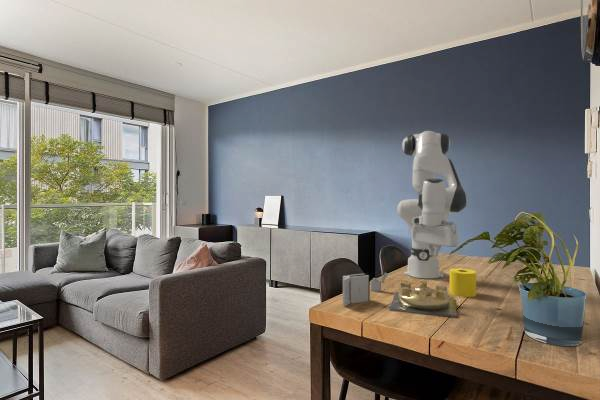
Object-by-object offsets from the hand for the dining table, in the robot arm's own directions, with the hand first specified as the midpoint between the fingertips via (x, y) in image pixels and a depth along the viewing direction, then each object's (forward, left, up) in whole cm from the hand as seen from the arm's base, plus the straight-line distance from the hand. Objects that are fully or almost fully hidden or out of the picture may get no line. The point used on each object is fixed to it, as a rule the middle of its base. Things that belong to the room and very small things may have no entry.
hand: (433, 255), depth 134 cm
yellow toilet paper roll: (-15, +11, -18) cm, 26 cm away
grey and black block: (+13, -28, -18) cm, 36 cm away
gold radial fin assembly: (+6, -4, -16) cm, 18 cm away
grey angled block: (-7, -22, -18) cm, 29 cm away
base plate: (+6, -4, -17) cm, 19 cm away
